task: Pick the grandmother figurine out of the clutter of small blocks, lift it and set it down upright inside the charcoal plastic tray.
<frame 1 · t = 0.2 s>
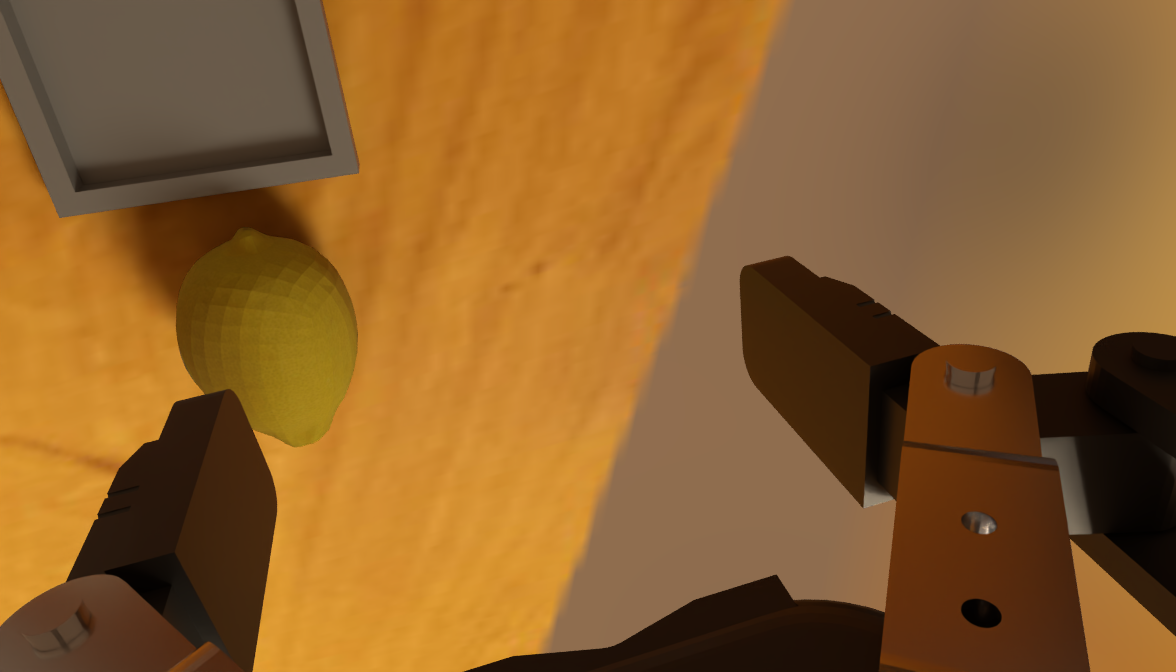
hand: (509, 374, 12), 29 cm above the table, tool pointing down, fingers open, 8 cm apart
tray: (174, 40, 34), on the table
lemon: (279, 301, 40), on the table
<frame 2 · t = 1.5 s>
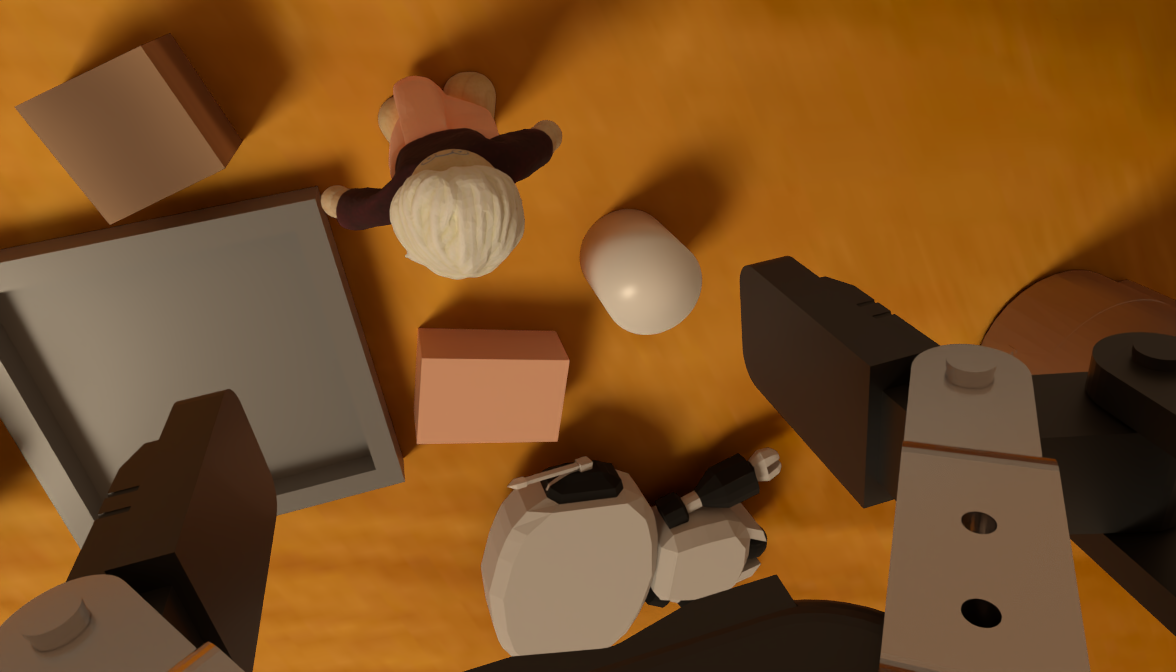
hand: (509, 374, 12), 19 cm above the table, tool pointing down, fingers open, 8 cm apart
robot toy: (617, 521, 41), on the table
tray: (202, 373, 31), on the table
walnut cube: (155, 114, 27), on the table
grandmother figurine: (426, 122, 29), on the table
terracotta block: (484, 367, 34), on the table
white rounded cylinder block: (624, 253, 33), on the table
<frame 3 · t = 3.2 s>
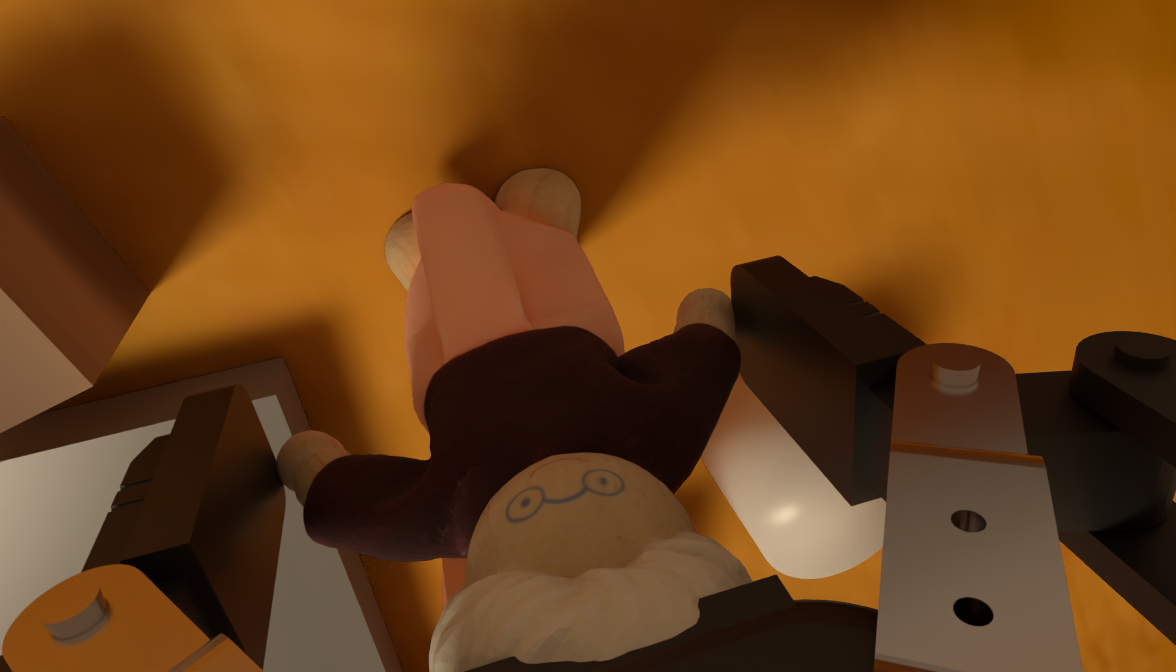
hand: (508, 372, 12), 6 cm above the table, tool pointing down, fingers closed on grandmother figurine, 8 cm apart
tray: (103, 639, 19), on the table
grandmother figurine: (465, 249, 17), on the table, touching gripper
terracotta block: (544, 590, 23), on the table
white rounded cylinder block: (762, 423, 22), on the table
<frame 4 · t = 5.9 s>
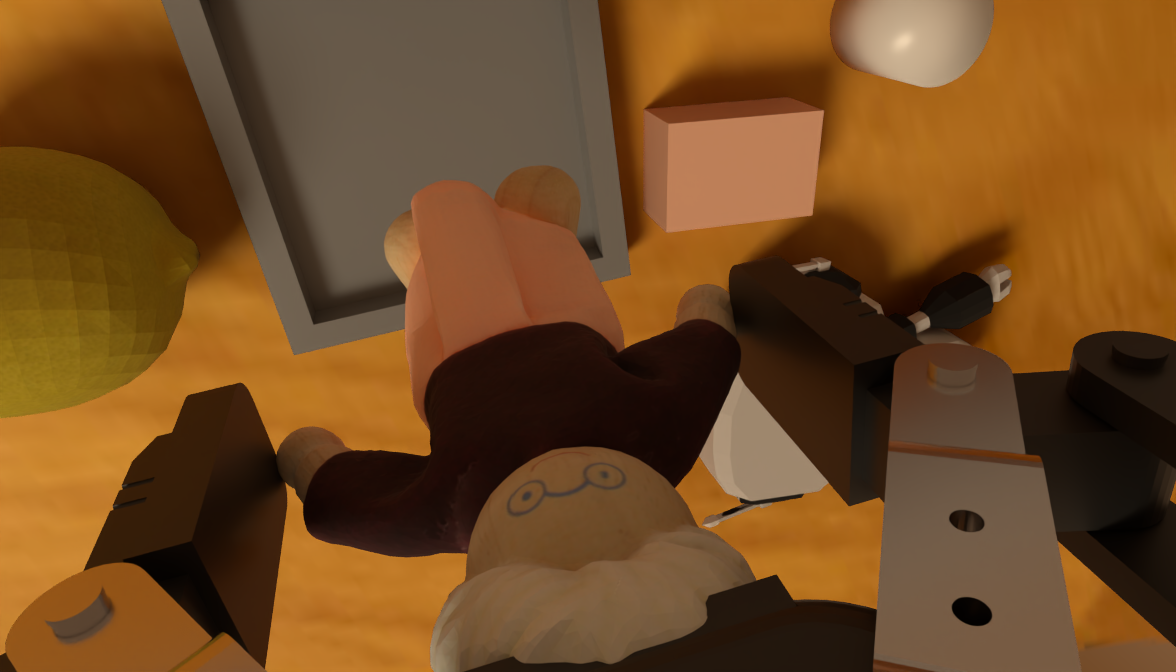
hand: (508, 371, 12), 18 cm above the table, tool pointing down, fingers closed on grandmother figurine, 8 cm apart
robot toy: (820, 357, 37), on the table
tray: (424, 134, 28), on the table
grandmother figurine: (464, 246, 17), point 12 cm above the table, touching gripper
lemon: (52, 237, 26), on the table
terracotta block: (712, 152, 31), on the table
white rounded cylinder block: (876, 17, 30), on the table
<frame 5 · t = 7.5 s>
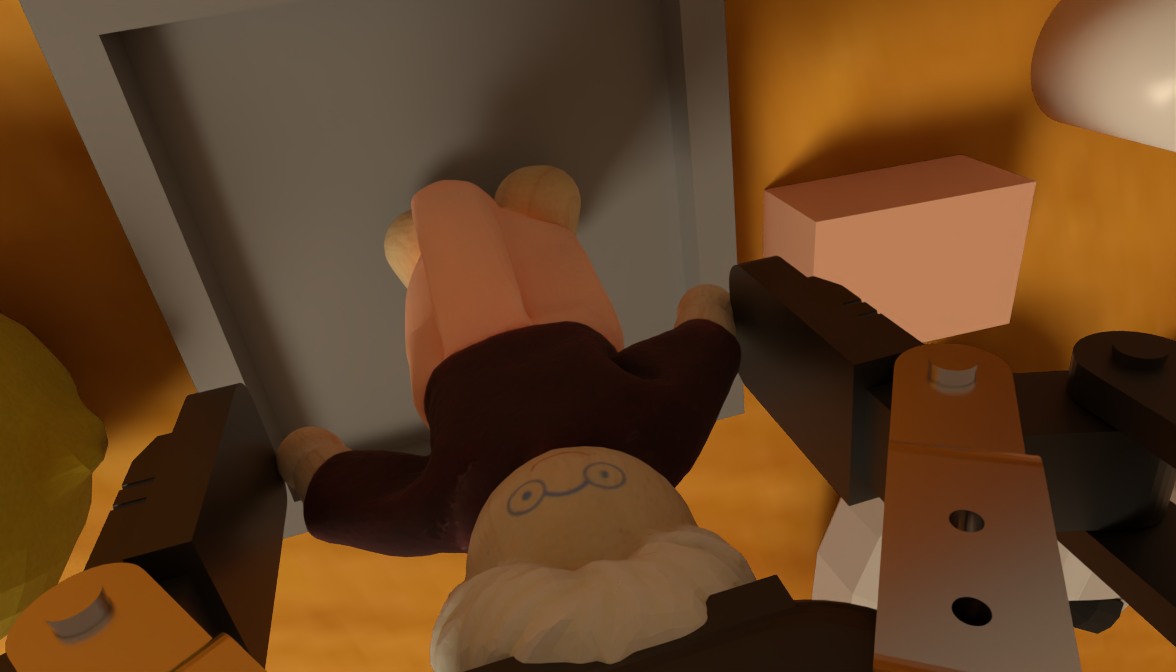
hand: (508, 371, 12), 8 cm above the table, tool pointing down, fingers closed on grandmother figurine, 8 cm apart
robot toy: (965, 487, 28), on the table
tray: (457, 225, 19), on the table
grandmother figurine: (464, 246, 17), point 2 cm above the table, touching gripper
terracotta block: (855, 237, 22), on the table
white rounded cylinder block: (1094, 49, 21), on the table
when the fingers open (6 cm above the table, at t = 8.6 s): grandmother figurine stays where it is, resting on tray.
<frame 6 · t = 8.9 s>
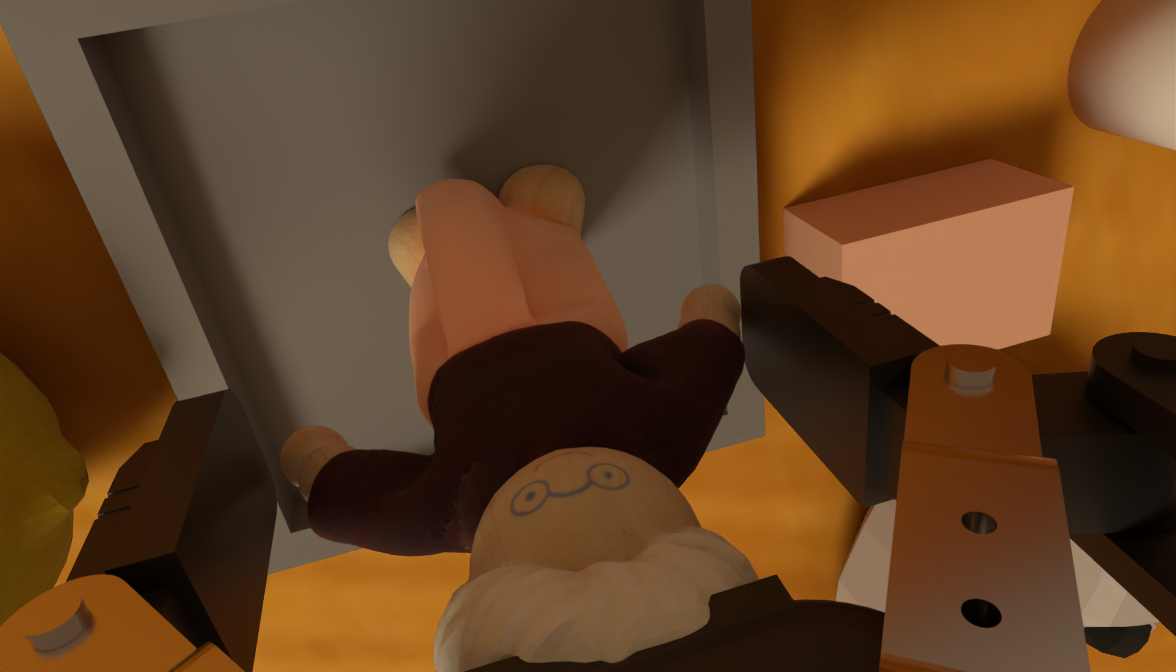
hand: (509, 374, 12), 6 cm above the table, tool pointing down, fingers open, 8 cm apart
robot toy: (988, 508, 27), on the table
tray: (464, 240, 18), on the table
grandmother figurine: (468, 245, 17), resting on tray
terracotta block: (881, 250, 21), on the table
white rounded cylinder block: (1134, 53, 20), on the table
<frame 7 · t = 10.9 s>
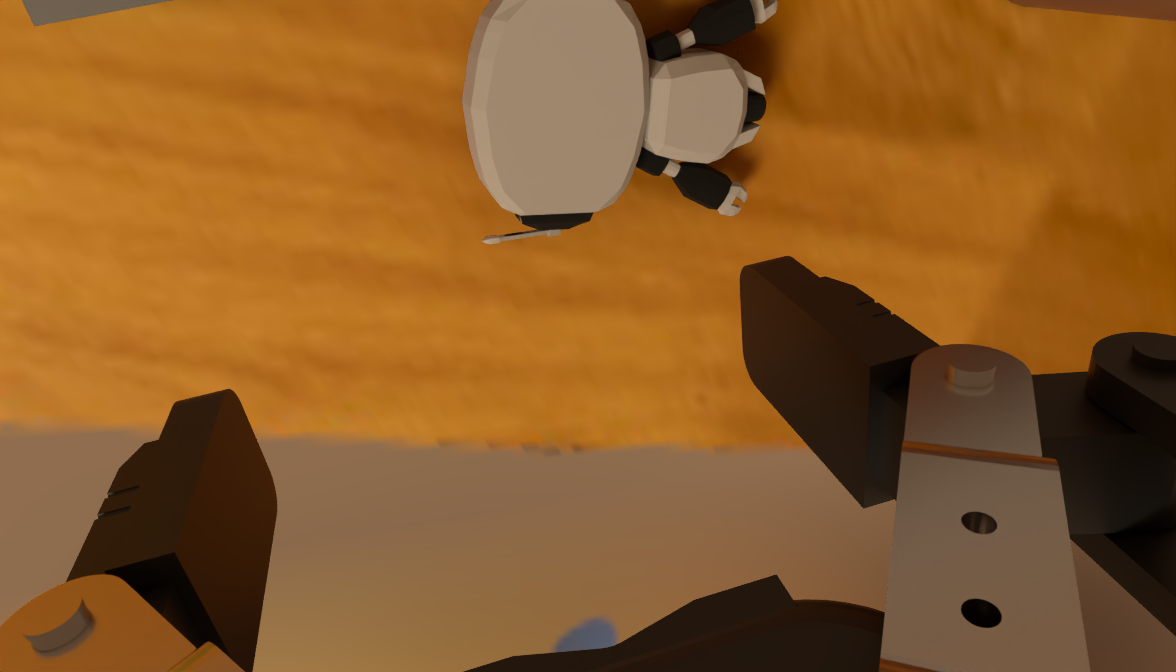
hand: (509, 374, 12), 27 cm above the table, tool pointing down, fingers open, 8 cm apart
robot toy: (607, 95, 38), on the table
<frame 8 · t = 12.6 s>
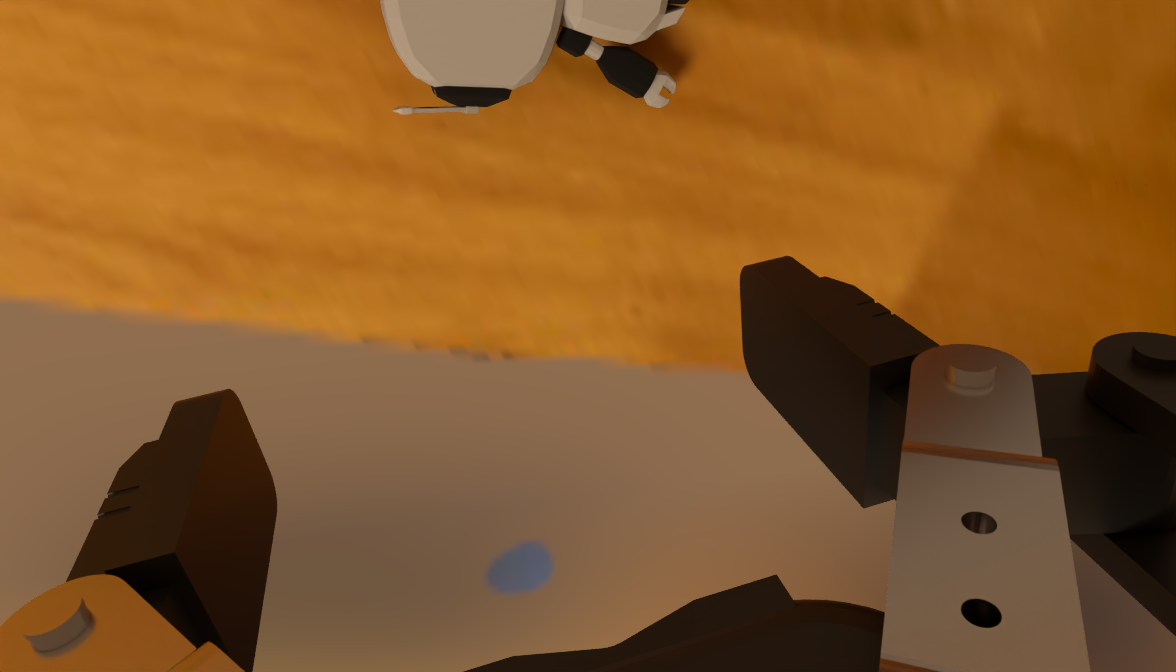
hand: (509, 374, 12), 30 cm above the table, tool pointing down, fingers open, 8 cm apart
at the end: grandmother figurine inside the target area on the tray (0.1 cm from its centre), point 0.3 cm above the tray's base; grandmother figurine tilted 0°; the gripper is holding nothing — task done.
